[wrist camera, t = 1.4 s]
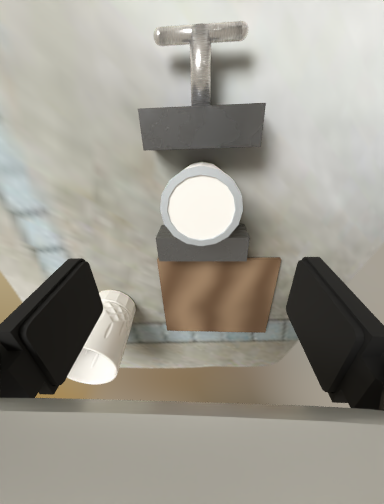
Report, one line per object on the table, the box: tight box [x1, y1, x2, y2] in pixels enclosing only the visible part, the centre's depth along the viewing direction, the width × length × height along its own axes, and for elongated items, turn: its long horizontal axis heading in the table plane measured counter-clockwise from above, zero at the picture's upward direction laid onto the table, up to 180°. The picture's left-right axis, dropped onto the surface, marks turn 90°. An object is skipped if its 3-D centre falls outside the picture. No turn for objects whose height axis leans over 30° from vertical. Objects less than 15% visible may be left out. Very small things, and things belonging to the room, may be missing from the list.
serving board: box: [157, 258, 281, 333], centre depth 31 cm, size 16×14×1 cm
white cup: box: [67, 290, 136, 384], centre depth 29 cm, size 8×8×10 cm
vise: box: [138, 21, 266, 261], centre depth 20 cm, size 10×20×4 cm, turn 2°
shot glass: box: [160, 161, 243, 246], centre depth 20 cm, size 7×7×7 cm
